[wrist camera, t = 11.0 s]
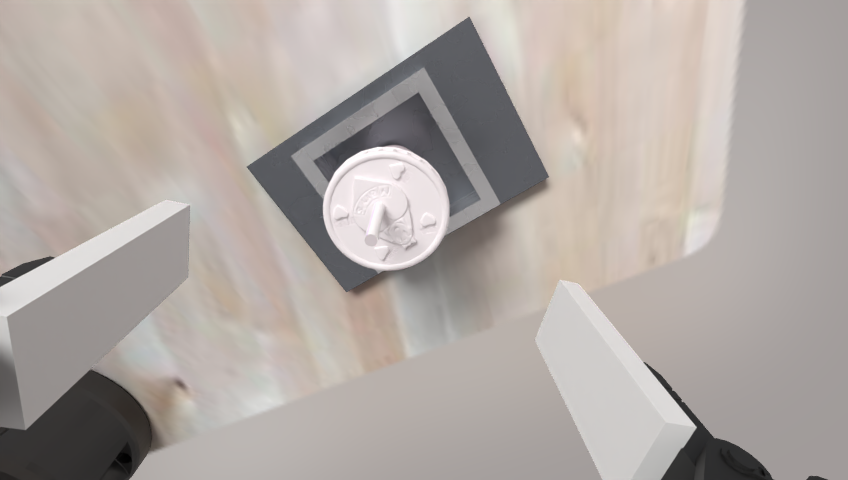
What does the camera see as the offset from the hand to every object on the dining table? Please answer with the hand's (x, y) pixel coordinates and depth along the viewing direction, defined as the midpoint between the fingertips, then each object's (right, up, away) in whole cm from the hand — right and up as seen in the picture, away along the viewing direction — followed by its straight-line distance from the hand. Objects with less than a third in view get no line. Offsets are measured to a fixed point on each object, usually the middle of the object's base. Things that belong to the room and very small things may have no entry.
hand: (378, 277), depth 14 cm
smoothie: (0, +6, +15) cm, 16 cm away
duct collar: (0, +7, +15) cm, 17 cm away
